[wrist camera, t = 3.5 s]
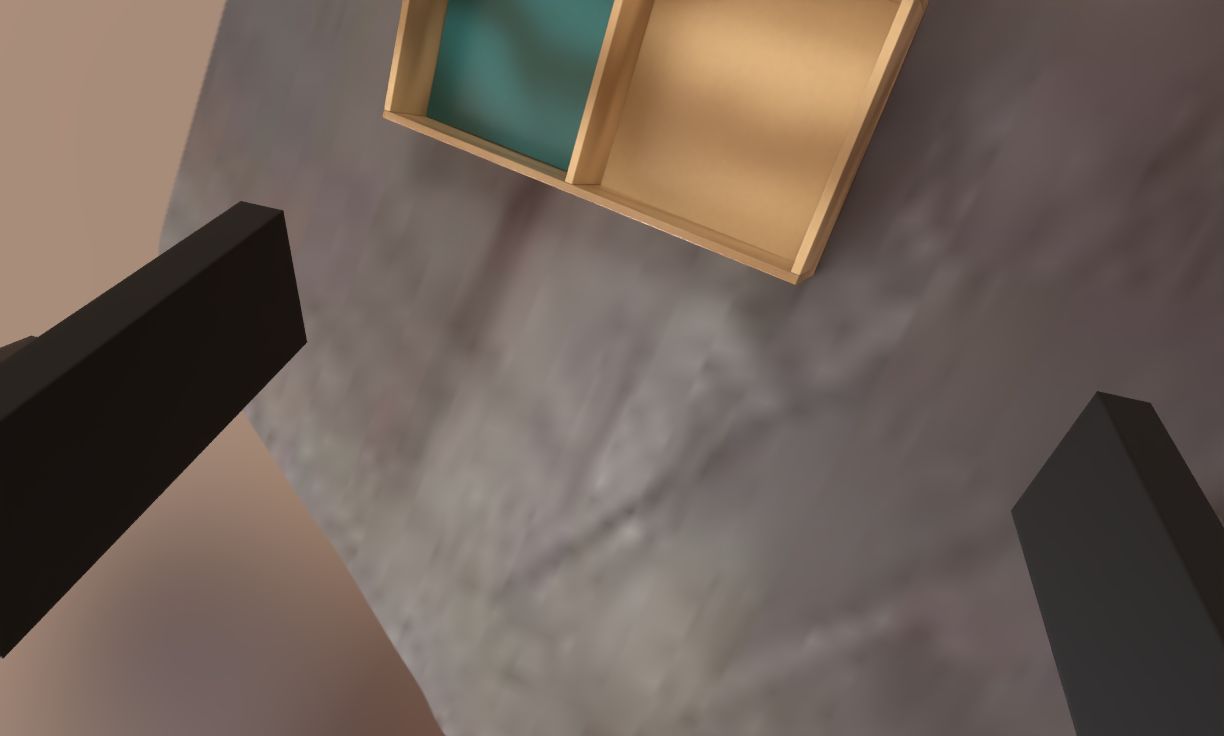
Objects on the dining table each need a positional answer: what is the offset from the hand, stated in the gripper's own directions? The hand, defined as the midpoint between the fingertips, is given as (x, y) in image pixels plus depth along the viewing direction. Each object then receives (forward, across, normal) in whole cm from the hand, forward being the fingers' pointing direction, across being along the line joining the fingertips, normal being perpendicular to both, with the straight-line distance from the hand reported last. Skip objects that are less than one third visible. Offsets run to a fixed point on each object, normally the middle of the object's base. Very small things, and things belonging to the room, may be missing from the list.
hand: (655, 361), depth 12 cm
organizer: (+24, -5, -3) cm, 25 cm away
